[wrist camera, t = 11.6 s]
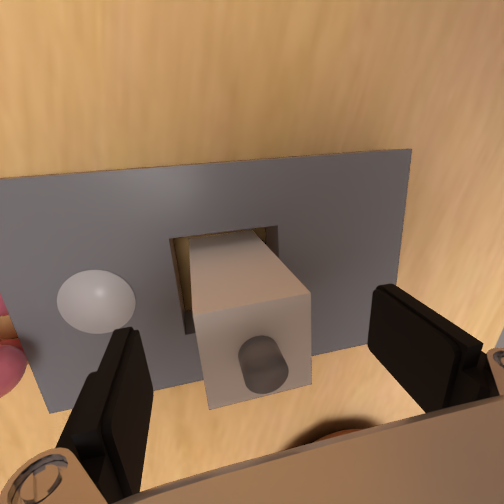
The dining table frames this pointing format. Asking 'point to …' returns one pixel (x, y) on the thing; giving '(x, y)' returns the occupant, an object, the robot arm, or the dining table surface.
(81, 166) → the dining table surface
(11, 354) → the anatomy model
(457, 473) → the robot arm
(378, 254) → the block
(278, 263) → the white square peg
